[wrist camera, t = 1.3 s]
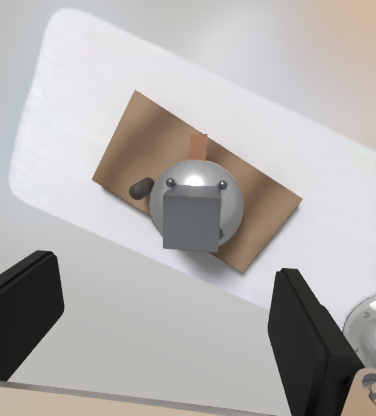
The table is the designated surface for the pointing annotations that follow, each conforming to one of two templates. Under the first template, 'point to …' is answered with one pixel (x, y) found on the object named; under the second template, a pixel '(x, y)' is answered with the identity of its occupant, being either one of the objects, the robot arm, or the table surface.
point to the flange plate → (204, 178)
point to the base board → (179, 151)
